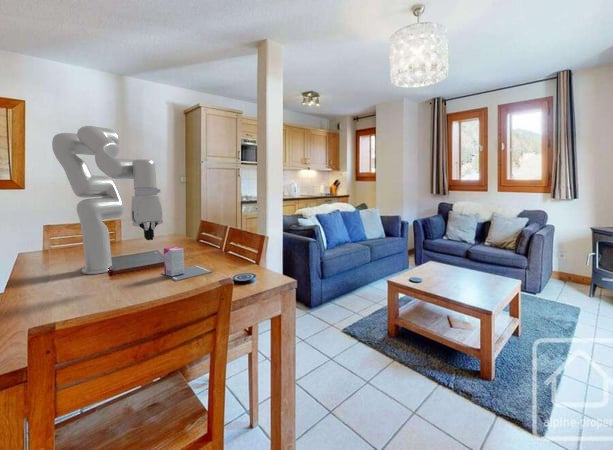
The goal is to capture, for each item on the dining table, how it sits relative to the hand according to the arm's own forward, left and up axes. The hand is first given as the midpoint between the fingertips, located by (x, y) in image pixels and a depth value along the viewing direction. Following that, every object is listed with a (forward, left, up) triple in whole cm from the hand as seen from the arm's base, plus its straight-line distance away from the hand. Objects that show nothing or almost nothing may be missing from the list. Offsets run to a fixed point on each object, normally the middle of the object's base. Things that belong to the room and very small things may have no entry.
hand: (149, 239), depth 118 cm
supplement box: (0, +9, -17) cm, 19 cm away
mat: (0, +14, -17) cm, 22 cm away
